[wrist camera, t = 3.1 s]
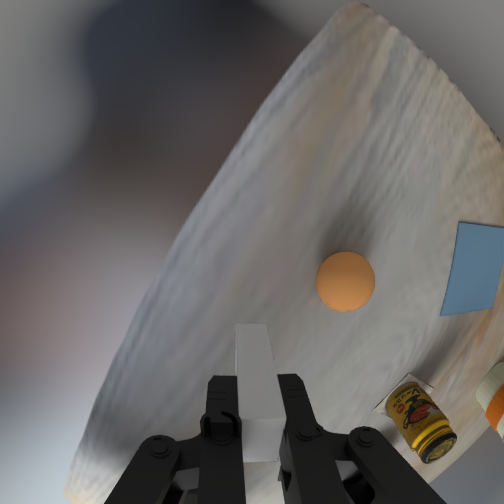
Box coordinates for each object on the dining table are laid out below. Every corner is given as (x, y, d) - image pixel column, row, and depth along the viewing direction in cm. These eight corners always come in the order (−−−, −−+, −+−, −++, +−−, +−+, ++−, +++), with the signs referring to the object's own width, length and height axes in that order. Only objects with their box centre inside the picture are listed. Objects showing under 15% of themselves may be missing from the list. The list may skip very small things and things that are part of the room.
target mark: (439, 315, 31) (440, 316, 31) (458, 222, 28) (459, 222, 28) (491, 307, 32) (492, 307, 32) (507, 228, 29) (508, 229, 29)
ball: (306, 298, 29) (322, 323, 23) (312, 244, 27) (330, 260, 22) (356, 296, 29) (379, 320, 24) (363, 245, 28) (390, 261, 23)
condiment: (408, 372, 33) (452, 428, 21) (433, 388, 35) (473, 436, 23) (372, 409, 34) (405, 469, 23) (401, 421, 36) (433, 472, 24)
